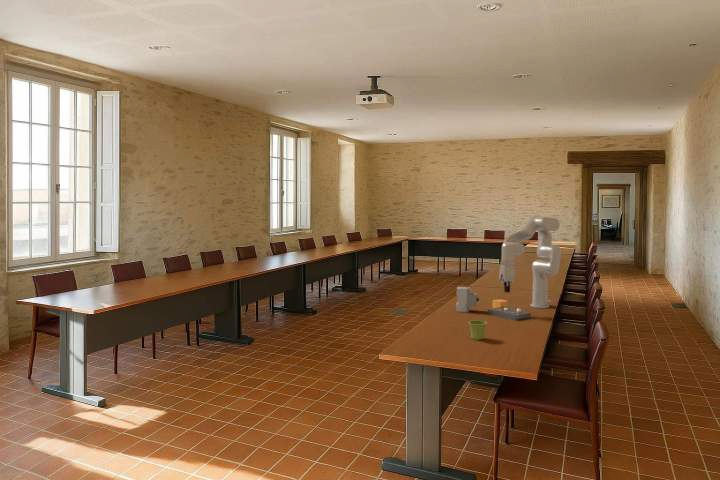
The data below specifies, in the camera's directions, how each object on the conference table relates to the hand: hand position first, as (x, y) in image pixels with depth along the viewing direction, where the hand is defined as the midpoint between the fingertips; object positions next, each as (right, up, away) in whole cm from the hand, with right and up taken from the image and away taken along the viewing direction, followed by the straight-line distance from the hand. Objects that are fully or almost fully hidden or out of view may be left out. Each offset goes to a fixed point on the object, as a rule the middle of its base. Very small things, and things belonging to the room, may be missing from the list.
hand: (507, 291), depth 345 cm
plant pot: (-31, -19, -58) cm, 69 cm away
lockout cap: (0, -13, +17) cm, 21 cm away
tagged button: (0, -14, +1) cm, 14 cm away
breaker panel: (0, -14, -3) cm, 15 cm away
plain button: (+5, -13, -7) cm, 16 cm away
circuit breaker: (-23, -13, +10) cm, 28 cm away
